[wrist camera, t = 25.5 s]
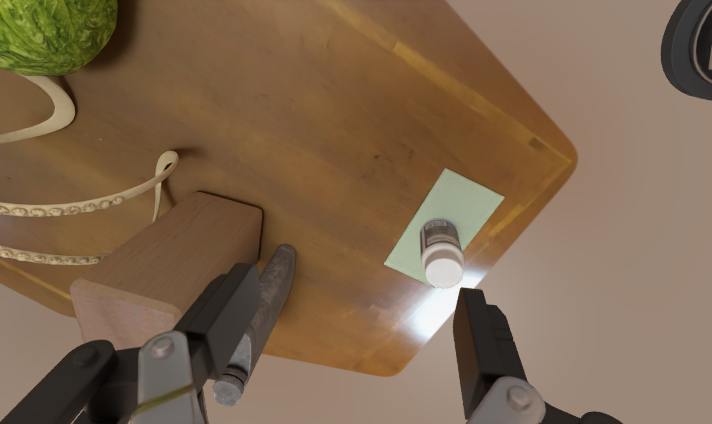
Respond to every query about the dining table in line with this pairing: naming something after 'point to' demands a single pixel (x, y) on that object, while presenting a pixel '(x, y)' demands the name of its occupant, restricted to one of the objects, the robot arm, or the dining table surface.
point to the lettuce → (53, 34)
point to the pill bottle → (441, 253)
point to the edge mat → (450, 202)
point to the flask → (258, 326)
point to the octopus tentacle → (58, 121)
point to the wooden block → (164, 270)
